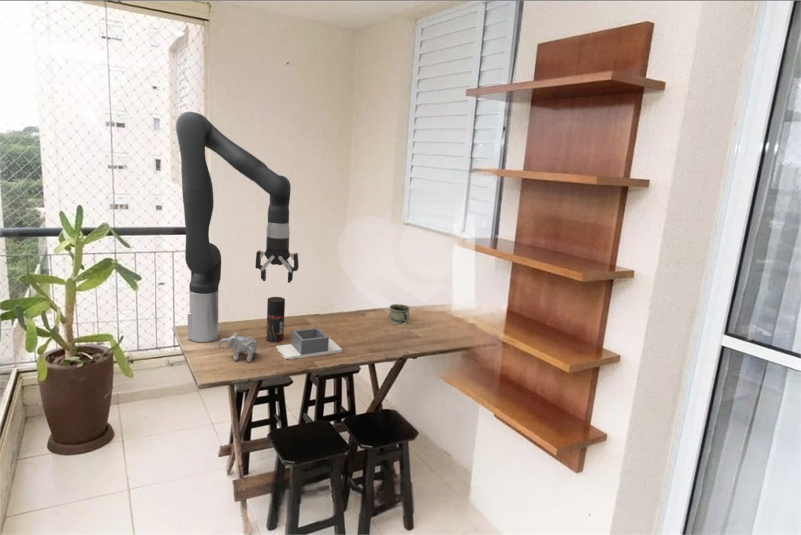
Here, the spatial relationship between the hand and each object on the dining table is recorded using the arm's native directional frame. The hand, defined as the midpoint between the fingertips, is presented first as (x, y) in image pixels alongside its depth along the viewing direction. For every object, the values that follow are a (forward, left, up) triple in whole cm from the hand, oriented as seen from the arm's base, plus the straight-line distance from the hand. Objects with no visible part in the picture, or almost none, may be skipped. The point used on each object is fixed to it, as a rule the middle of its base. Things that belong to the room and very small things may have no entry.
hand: (276, 281), depth 174 cm
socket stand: (+13, -8, -22) cm, 26 cm away
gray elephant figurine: (-9, -17, -22) cm, 29 cm away
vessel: (+46, +27, -22) cm, 58 cm away
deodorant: (0, 0, -22) cm, 22 cm away
